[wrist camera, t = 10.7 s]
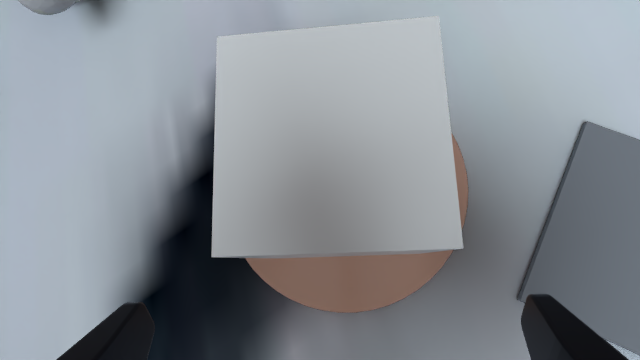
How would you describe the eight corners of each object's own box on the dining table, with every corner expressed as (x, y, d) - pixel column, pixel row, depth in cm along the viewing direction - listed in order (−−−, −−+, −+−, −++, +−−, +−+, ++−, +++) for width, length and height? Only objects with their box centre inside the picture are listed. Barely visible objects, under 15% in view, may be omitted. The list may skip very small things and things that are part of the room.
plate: (290, 356, 20) (288, 359, 19) (195, 144, 23) (190, 141, 22) (514, 238, 20) (518, 238, 19) (389, 41, 23) (390, 35, 22)
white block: (419, 253, 20) (463, 248, 11) (276, 258, 20) (211, 256, 12) (408, 116, 21) (438, 15, 13) (275, 125, 22) (217, 36, 13)
